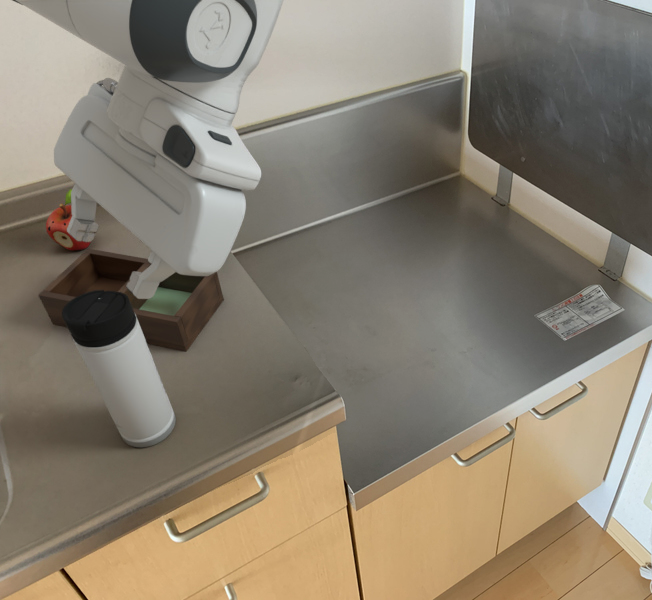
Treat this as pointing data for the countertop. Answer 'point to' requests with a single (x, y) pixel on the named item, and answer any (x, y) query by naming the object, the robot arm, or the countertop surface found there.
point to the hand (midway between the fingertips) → (107, 265)
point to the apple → (63, 226)
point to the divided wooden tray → (153, 314)
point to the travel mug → (120, 365)
